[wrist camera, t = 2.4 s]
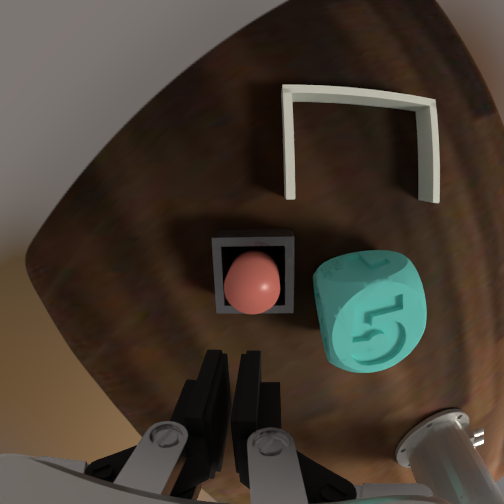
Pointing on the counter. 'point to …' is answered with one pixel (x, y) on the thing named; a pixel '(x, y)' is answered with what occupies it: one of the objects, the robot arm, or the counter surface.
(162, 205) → the counter surface
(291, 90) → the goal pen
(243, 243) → the button collar
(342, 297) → the decorative dice
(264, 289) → the button
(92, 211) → the counter surface
